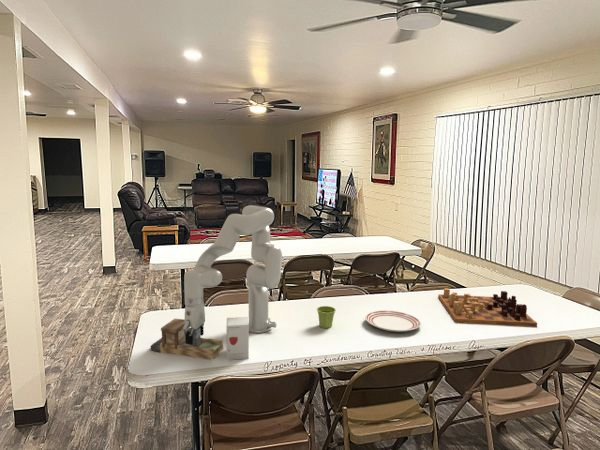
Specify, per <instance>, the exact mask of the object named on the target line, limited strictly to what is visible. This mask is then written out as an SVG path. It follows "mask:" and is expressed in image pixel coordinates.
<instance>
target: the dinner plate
mask: <svg viewBox="0 0 600 450" xmlns="http://www.w3.org/2000/svg"><path fill="white" fill-rule="evenodd" d="M365 321H366V322H367V323H368V324H369V325H371V326H373V327H374V328H377V329H380V330H384V331H386V332H390V333H391V332H392V333H393V332H394V333H404V332H410V331H413V330H416V329H419V328H420V327H421V326H422V322H421V320H420V319H419V318H418V317H416V316H414V315H412V314H409V313H406V312H402V311H399V310H398V311H396V310H388V309H387V310H385V309H384V310H381V309H380V310H374V311H370V312H368V313H366V314H365Z"/></svg>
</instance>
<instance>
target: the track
mask: <svg viewBox="0 0 600 450" xmlns="http://www.w3.org/2000/svg"><path fill="white" fill-rule="evenodd" d="M184 319H185V318H184ZM184 319H183V318H174V319H171V320H170V321H169V322H168V323H166V324H164V325H162V327H160V331H161V338H159V339H158V340H156V341H155V342H153V343H152V344H151V345H150V352H153V353H161V354H169V355H174V356H175V355H176V356H183V357H190V358H191V357H192V358H196V357H197V359H204V360H205V359H206V360H212V361H213V360H215V358H216V357H218V355H219V354H220V353H221V352H222V351H223V350H224V340H220V339H212V338H206V337H205V338H204V337H201V342H202V343H201V344H200V345H199V346H198V347H193V346H185V345H179V337H178V331H179V330H180V329H182V328H183V327H184V325H185V323H184ZM188 331H189V329H188ZM166 334H174V341H175V344H170V343H166Z"/></svg>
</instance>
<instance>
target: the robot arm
mask: <svg viewBox="0 0 600 450" xmlns="http://www.w3.org/2000/svg"><path fill="white" fill-rule="evenodd" d="M241 213H242V214H240V213H230V214H229V215H228V216H227V217H226V218H225V219H226V220H225V221H224V223H223V225H222V227H221V229H220V231H219V234H218V235H217V237H216V239H215V241H214V243H213V244H211V245H210V246H209V247H208V248H207V249H205V250H204V251H203V252H202V253H201V255H200V256H199V257H198V259H197V262H196V264H195V265H194V267H193V269H192V270H188V271H186V272H185V273H184V274H183V275H184V277H183V280H184V281H183V283H184V291H183V292H184V305H185V307H184V323H185V325H184V327H183V331H184V334H185V343H186V344H190V345H192V344H193V335H192V332H193V329H194V330H196V329H197V328H199V327H200V331H201V336H204V334H205V333H204V328H205V327H204V325H205V322H206V311H205V304H204V288H213V287H217V286H218V285H220V284H221V283H222V282H223V281H222V280H223V274H222V273H221V271H219V270H218V269H216V268H212V266H213V264H214V262H215V261H216V260H217V259H218V258H221V257H223V256H225V255H228V254H230V253H232V252H233V251H234V249H235V246H236V245H237V242H238V240H239V238H240V236H241V235H242V236H243V235H244V236H250V235H251V248H250V255H251V258H252V260H253V261H255V262H258V263H260V264H258V263H254V264H251V265H250V266H249V267H248V268H247V270H246V275H245V276H246V282H247V288H248V324H249V333H252V334H262V333H263V334H264V333H266V332H269V331H270V330H271V329H272V328H277V323H276V321H271V318H269V298H270V297H269V289H274V288H276V287H277V286H278V285H279V284H280V281H281V276H282V264H283V253H282V250H281V248H280V247H279V246H277V244H272V243H271V229H270V225H272V224H273V222H274V220H275V213H274V211H273V210H272V208H269V207H266V206H259V205H251V204H250V205H249V204H248V205H247V206H244V207H243V209H242V212H241ZM261 263H262V264H261ZM263 264H264V265H263ZM188 329H189V330H191V331H190V332H189V331H188Z"/></svg>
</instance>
